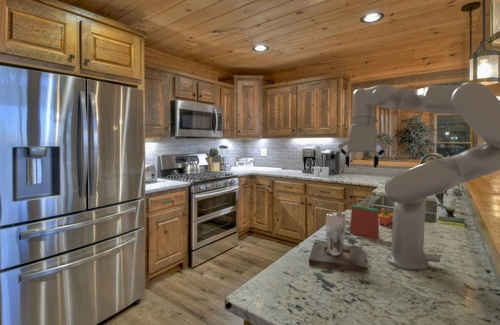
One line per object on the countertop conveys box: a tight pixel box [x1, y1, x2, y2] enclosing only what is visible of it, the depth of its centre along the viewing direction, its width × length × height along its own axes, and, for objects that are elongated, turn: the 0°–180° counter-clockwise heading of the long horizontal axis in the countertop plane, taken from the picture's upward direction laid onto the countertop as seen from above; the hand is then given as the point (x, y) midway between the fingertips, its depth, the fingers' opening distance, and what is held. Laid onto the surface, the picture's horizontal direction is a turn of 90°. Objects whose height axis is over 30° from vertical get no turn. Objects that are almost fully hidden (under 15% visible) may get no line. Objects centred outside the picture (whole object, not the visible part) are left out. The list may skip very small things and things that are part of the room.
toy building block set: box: [349, 204, 393, 240], centre depth 135 cm, size 12×35×14 cm, turn 134°
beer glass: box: [325, 211, 347, 258], centre depth 99 cm, size 7×7×15 cm
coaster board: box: [308, 241, 367, 274], centre depth 99 cm, size 18×18×2 cm
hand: (361, 166), depth 106 cm, fingers open, 9 cm apart
